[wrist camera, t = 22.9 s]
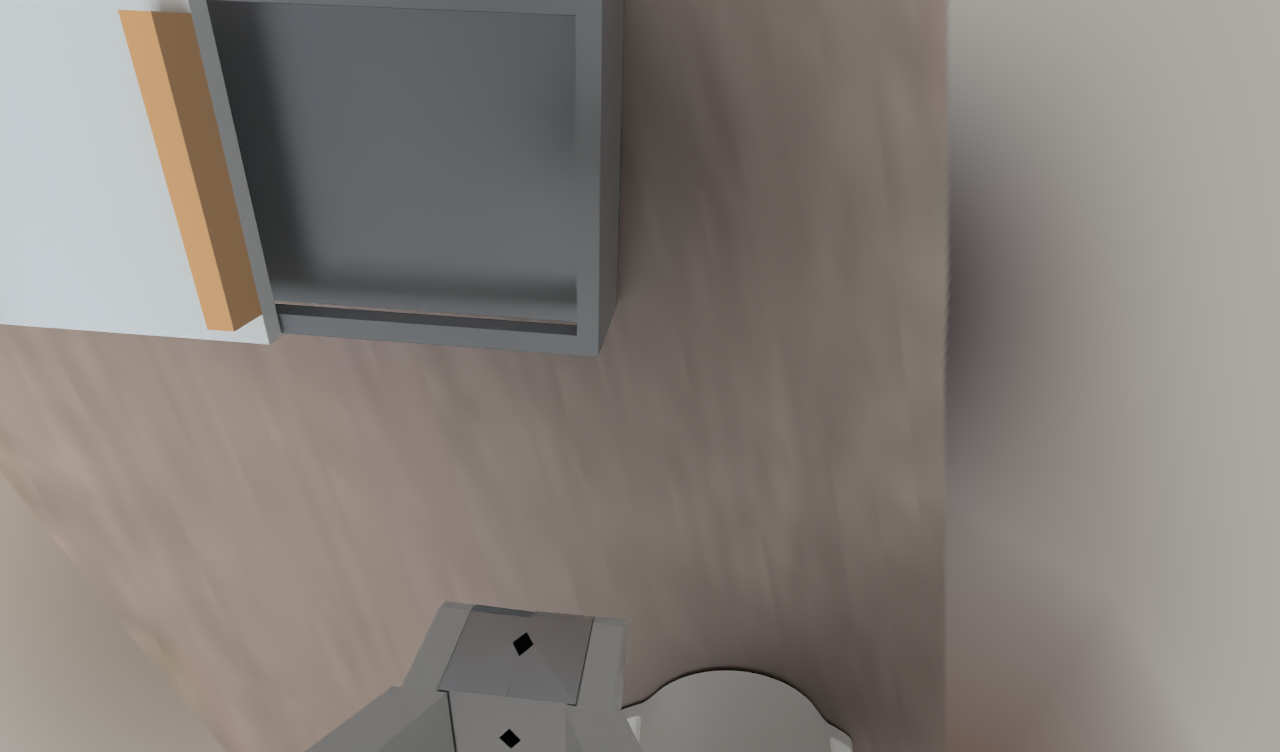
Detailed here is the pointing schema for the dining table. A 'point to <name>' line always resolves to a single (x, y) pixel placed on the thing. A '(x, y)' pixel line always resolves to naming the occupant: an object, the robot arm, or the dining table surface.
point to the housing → (433, 164)
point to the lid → (124, 175)
